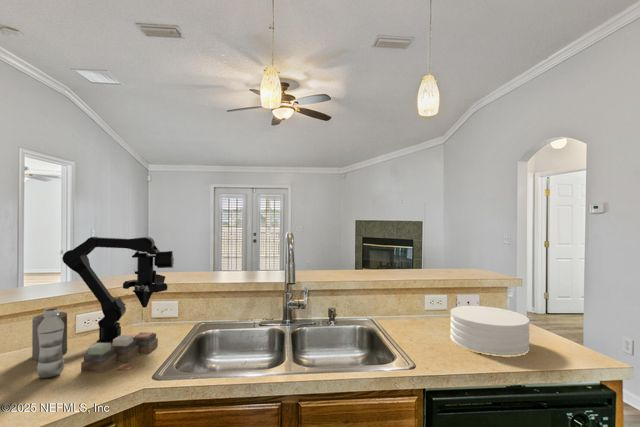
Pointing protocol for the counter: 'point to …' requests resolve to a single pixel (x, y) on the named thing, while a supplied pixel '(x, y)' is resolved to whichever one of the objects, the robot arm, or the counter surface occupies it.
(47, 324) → the plastic bottle
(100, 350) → the sage button
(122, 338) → the cream button
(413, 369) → the counter surface
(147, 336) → the terracotta button
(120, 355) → the button panel
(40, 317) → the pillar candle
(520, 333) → the plate stack
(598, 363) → the counter surface
